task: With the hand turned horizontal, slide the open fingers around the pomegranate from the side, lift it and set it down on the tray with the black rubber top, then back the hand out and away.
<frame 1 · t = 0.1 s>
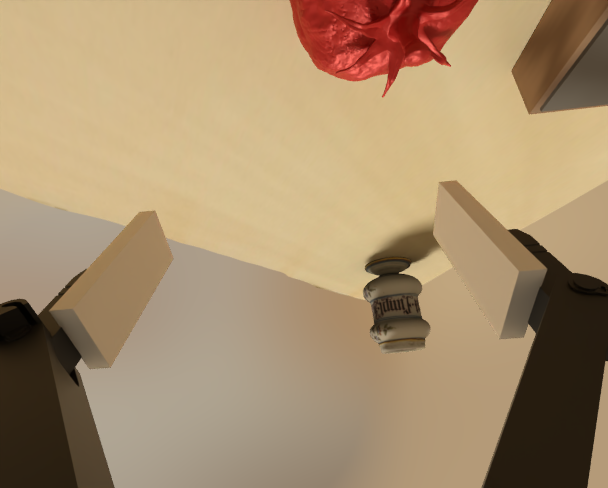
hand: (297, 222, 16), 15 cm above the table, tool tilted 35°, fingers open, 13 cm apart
apothecary jar: (387, 264, 73), on the table
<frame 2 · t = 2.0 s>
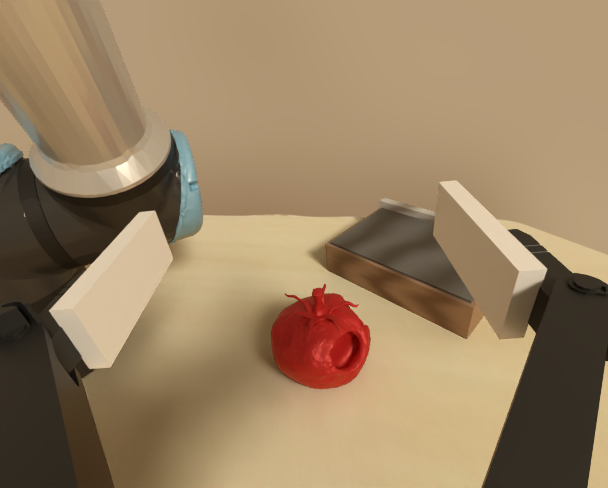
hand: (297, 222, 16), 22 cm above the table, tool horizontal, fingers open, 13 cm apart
tray: (415, 272, 46), on the table
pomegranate: (323, 361, 36), on the table
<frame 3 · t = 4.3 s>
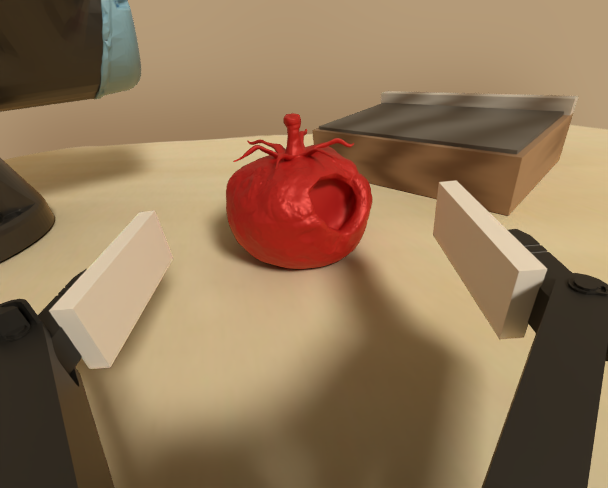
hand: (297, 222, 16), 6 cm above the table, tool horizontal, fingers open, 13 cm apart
tray: (429, 165, 36), on the table
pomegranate: (304, 247, 25), on the table
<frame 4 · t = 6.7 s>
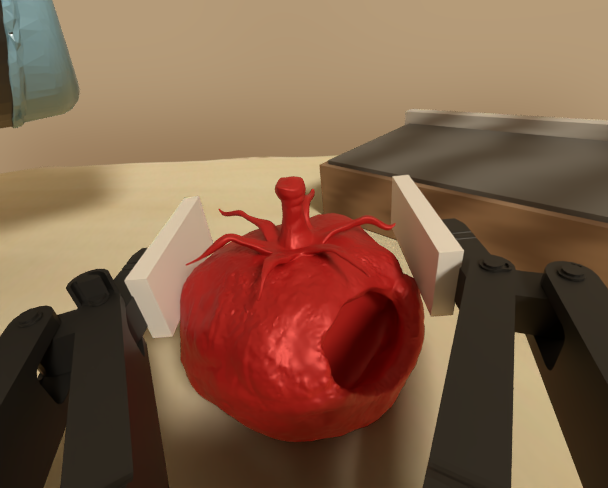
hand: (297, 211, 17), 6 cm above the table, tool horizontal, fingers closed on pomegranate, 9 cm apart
tray: (475, 212, 27), on the table
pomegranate: (310, 367, 16), on the table, touching gripper
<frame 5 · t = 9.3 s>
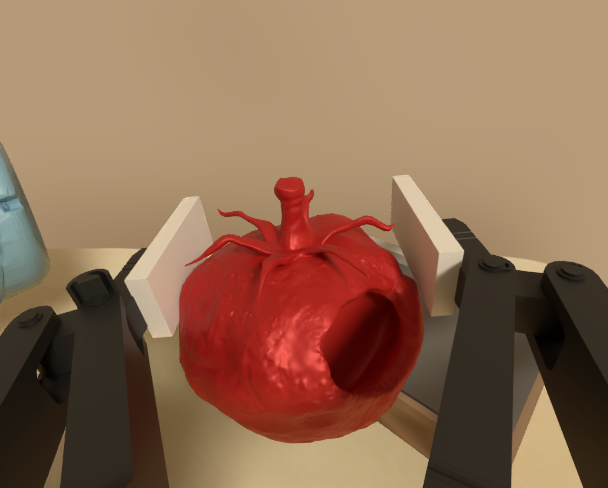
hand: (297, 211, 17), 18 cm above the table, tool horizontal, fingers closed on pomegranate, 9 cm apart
tray: (403, 351, 31), on the table
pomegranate: (310, 367, 16), point 12 cm above the table, touching gripper
when the fingers open (12 cm above the table, at t = 11.8 s): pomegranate drops 1 cm, resting on tray.
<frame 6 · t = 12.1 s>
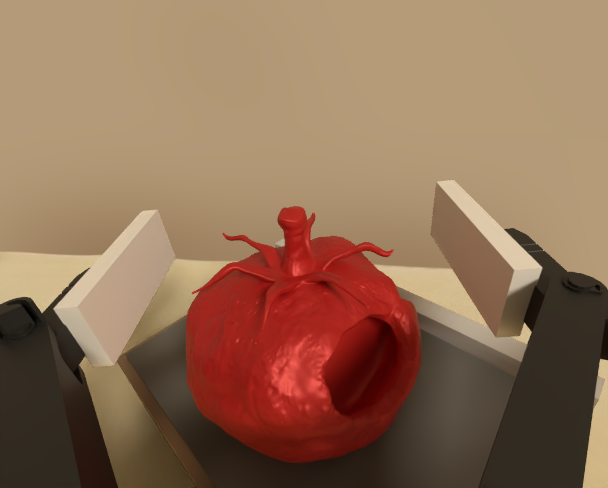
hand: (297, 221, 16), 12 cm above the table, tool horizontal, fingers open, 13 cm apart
tray: (326, 424, 20), on the table
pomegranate: (311, 384, 17), point 5 cm above the table, touching tray
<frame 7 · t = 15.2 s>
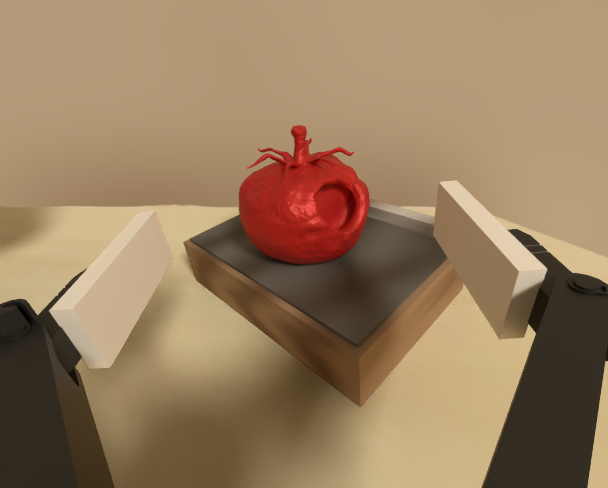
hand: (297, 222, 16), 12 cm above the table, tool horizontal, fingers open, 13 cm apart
tray: (318, 284, 31), on the table
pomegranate: (309, 245, 28), point 5 cm above the table, touching tray
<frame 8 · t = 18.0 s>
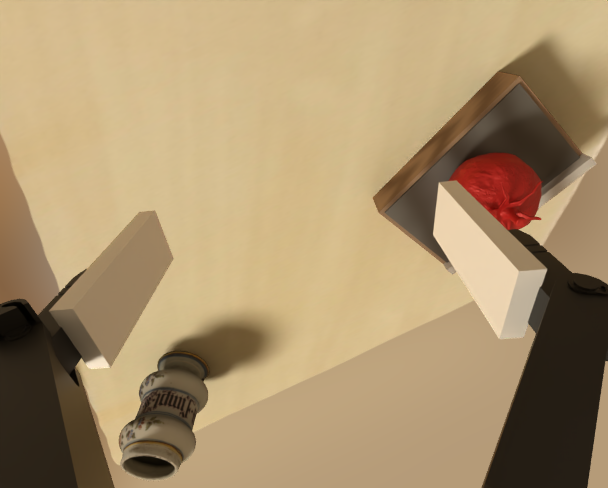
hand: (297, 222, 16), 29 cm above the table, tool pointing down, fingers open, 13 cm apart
apothecary jar: (184, 367, 66), on the table
tray: (463, 174, 45), on the table
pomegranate: (475, 184, 40), point 5 cm above the table, touching tray
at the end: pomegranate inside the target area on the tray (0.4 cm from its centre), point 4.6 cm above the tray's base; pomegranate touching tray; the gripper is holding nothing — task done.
